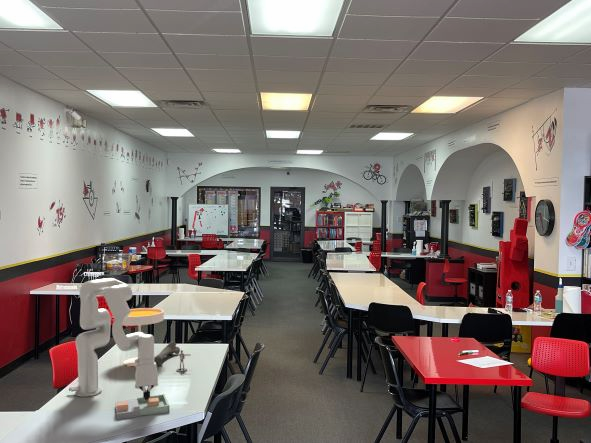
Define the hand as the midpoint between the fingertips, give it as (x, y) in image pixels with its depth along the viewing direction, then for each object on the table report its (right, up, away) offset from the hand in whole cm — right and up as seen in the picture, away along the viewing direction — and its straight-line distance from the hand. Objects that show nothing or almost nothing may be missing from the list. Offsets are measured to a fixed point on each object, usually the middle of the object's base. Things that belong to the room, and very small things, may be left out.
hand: (146, 399), depth 255 cm
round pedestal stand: (-26, -3, +78) cm, 82 cm away
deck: (-7, -4, -6) cm, 10 cm away
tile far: (+3, -1, 0) cm, 3 cm away
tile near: (-9, -1, -10) cm, 13 cm away
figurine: (+4, -3, +58) cm, 59 cm away
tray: (+3, -4, -2) cm, 5 cm away
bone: (-12, -3, +83) cm, 84 cm away
